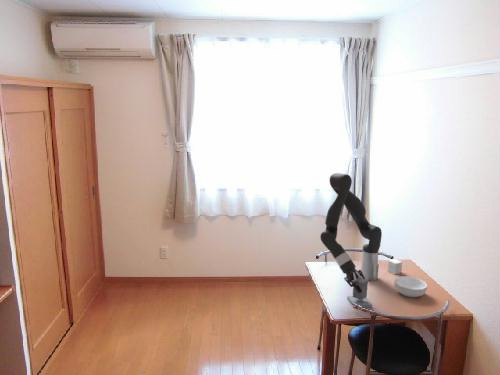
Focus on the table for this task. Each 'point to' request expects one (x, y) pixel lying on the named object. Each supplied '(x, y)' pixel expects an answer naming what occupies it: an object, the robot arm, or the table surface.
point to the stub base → (359, 301)
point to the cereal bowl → (410, 286)
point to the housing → (363, 286)
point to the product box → (394, 266)
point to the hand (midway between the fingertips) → (363, 290)
